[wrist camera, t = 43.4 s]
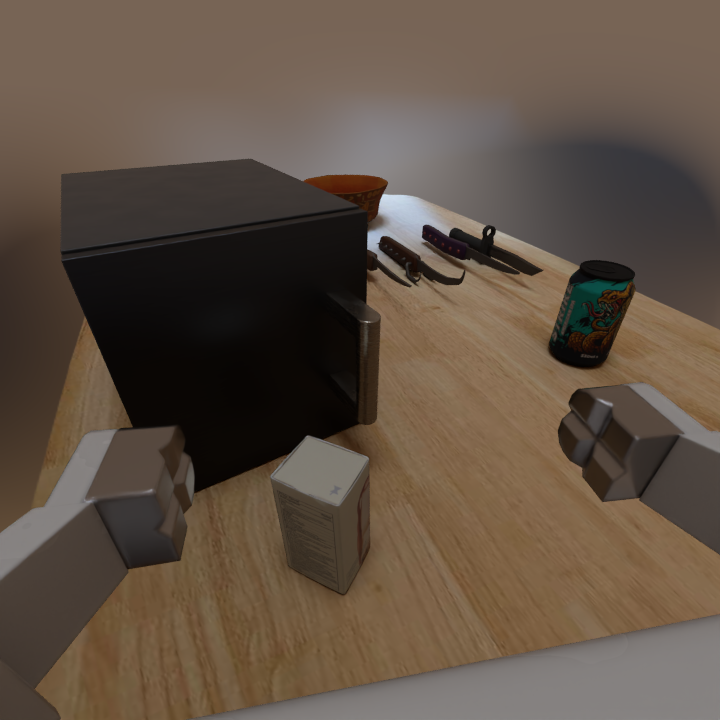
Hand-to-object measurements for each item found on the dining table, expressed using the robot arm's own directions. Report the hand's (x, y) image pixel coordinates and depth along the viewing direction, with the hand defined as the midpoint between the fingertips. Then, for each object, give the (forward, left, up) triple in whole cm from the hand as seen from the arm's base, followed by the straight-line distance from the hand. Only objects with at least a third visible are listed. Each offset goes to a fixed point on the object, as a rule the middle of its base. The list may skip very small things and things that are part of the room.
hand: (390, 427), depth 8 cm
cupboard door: (+20, -3, -24) cm, 31 cm away
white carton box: (+11, -3, -24) cm, 27 cm away
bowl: (+86, -46, -24) cm, 100 cm away
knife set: (+51, -41, -24) cm, 70 cm away
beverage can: (+19, -44, -24) cm, 54 cm away
